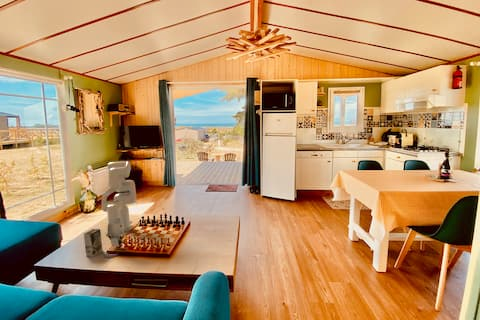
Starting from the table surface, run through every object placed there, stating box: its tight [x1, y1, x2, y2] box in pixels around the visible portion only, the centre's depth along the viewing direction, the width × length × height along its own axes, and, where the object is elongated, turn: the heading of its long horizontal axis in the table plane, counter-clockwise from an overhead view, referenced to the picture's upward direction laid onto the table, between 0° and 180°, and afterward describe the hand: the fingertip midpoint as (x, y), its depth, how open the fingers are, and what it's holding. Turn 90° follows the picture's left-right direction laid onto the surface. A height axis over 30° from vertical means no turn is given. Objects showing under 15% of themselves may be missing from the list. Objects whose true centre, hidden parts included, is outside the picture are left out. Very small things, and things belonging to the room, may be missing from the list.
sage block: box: [110, 236, 120, 248], centre depth 199 cm, size 5×5×6 cm
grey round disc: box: [103, 252, 119, 259], centre depth 189 cm, size 9×9×1 cm
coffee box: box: [83, 228, 103, 257], centre depth 191 cm, size 9×6×16 cm
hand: (116, 244), depth 199 cm, fingers closed on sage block, 5 cm apart
